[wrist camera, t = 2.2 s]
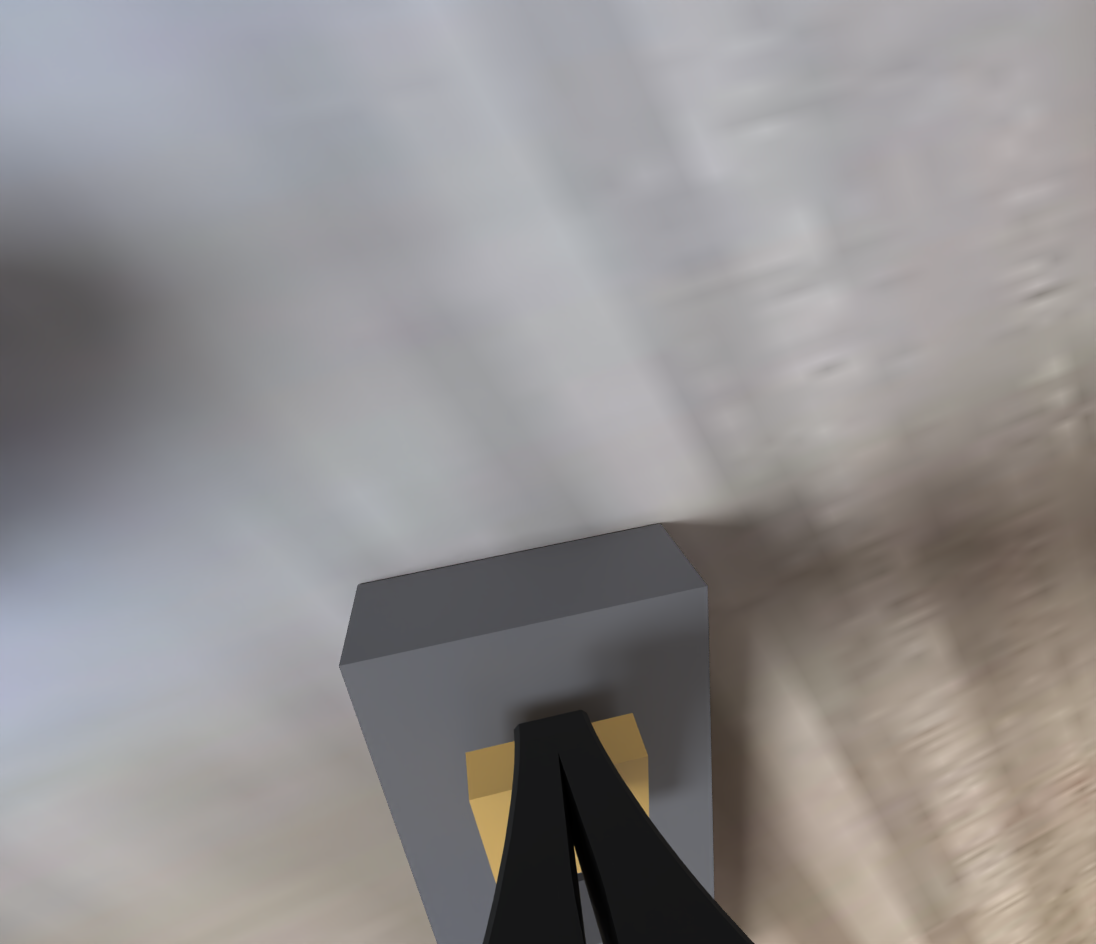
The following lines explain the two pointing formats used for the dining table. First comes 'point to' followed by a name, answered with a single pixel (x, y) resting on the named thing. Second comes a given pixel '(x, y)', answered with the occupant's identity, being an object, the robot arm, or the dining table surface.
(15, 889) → the dining table surface
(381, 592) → the power strip
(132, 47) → the dining table surface
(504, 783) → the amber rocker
